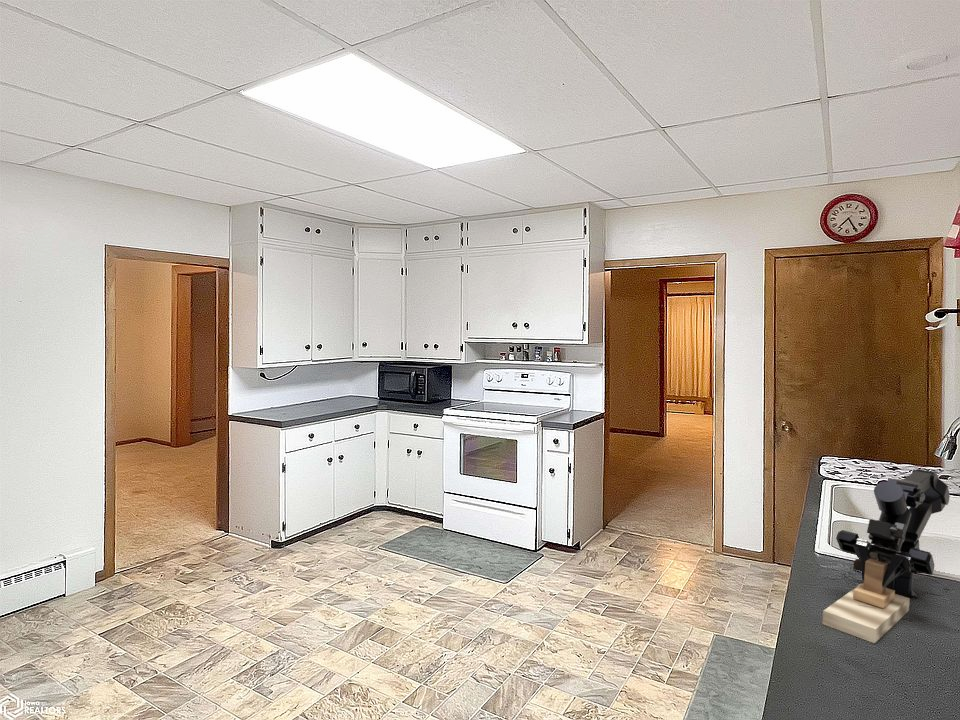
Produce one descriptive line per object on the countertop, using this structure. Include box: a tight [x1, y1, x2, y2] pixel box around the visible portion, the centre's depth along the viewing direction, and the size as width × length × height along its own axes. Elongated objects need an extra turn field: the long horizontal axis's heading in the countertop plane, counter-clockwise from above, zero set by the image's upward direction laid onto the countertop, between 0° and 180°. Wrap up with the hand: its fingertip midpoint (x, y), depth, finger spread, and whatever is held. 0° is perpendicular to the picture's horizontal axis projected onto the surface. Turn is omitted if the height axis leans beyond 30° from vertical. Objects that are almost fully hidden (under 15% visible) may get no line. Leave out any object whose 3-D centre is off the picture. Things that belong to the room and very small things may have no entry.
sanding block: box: [853, 559, 895, 608], centre depth 139 cm, size 8×6×8 cm
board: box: [821, 583, 911, 644], centre depth 137 cm, size 24×10×3 cm, turn 131°
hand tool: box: [853, 552, 878, 571], centre depth 169 cm, size 19×4×5 cm, turn 135°
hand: (873, 582), depth 138 cm, fingers closed on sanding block, 4 cm apart
